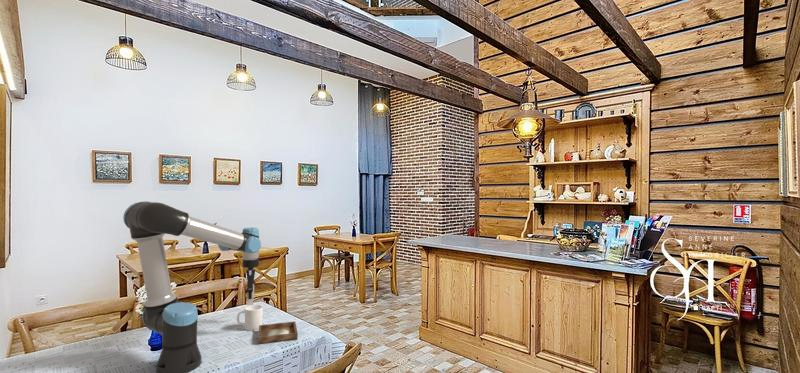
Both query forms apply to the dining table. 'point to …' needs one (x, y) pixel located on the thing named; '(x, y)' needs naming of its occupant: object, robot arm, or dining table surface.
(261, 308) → the cup
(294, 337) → the tray
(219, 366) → the dining table surface
